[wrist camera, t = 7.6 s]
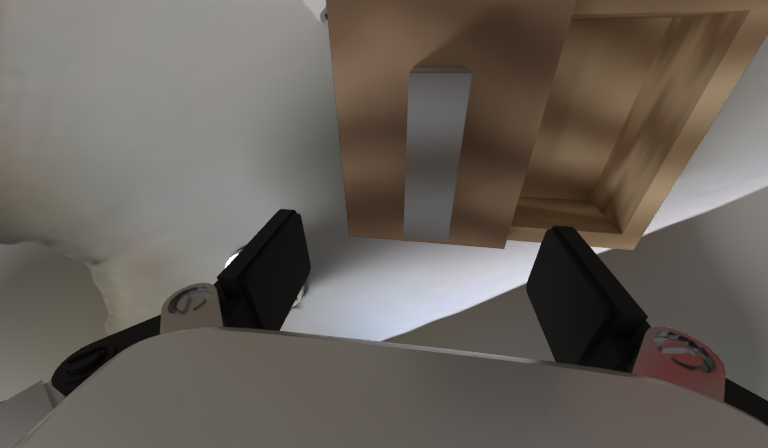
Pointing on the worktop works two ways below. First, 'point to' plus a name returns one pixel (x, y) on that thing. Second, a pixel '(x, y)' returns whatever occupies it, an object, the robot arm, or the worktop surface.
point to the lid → (441, 111)
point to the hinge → (317, 8)
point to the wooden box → (631, 111)
